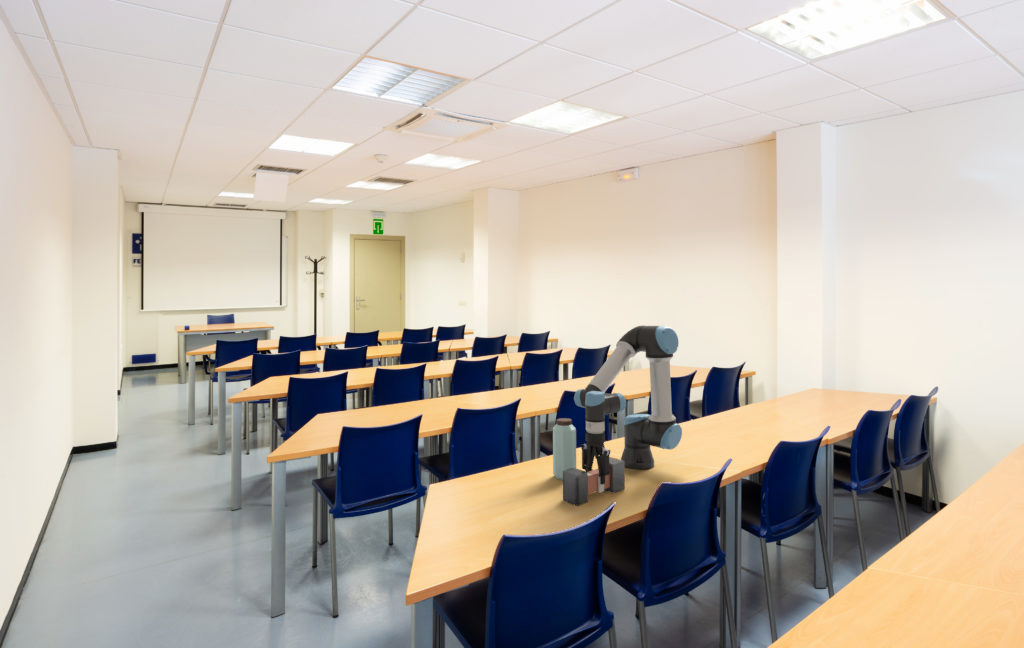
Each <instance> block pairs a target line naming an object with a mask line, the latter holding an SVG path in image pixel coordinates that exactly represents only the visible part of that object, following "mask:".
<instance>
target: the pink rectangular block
mask: <svg viewBox="0 0 1024 648" xmlns="http://www.w3.org/2000/svg"><path fill="white" fill-rule="evenodd" d="M609 471H610V474H609V475H606V476H605V484H604V489H606V488H609V487H611V466H609ZM602 473H603V472H602ZM598 475H599V470H598V468H595V469H593V470H592V471H588V472H587V491H588V495H591V494H594V493H596V492H597V493H598Z"/></svg>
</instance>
